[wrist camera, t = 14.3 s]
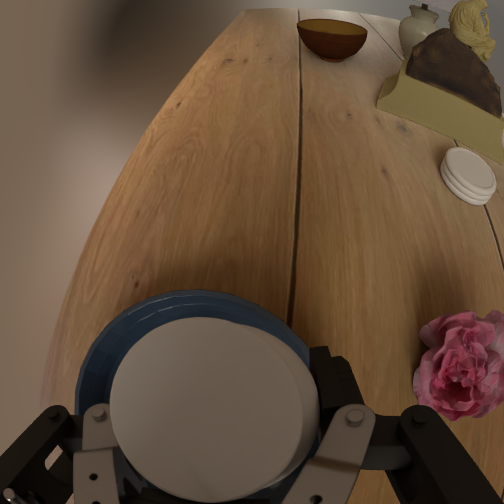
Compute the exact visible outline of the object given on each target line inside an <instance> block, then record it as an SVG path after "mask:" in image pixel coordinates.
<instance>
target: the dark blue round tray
mask: <svg viewBox="0 0 504 504" xmlns="http://www.w3.org/2000/svg"><path fill="white" fill-rule="evenodd" d="M192 317H208V318H217V319H223V320H227V321H230V322H233V323H236V324H242V325H247V326H251V327H254V328H258V329H261V330H263V331H265V332H267V333H269V334H271V335H273V336H275V337H277V338H278V339H280V340H281V341H283V342H284V343H285V344H287V345H288V346H289V347H290V348H291V349H292V350H293V351H294V352H295V353H296V354H297V355H298V356H299V358H300V359H301V360H302V361H303V363H304V364H305V365H306V367H307V368H308V370H309V349H308V347H307V346H306V344H305V342H304V341H303V340H302V339H301V338H300V337H299V336H298V335H297V334H296V333H295V332H294V331H293V330H292V329H291V328H290V327H289V326H288V325H287V324H286V323H285V322H284V321H283V320H281V319H280V318H278V317H277V316H275V315H273V314H272V313H270V312H269V311H267V310H266V309H264V308H262V307H261V306H259V305H258V304H256V303H253V302H251V301H248V300H245V299H242V298H240V297H237V296H234V295H232V294H228V293H223V292H216V291H209V290H203V289H195V290H179V291H171V292H167V293H164V294H160V295H157V296H153V297H149V298H147V299H145V300H143V301H141V302H139V303H137V304H135V305H133V306H132V307H130V308H128V309H126V310H124V311H123V312H122V313H121V314H120V315H118V316H117V317H116V318H115V319H114V320H112V321H111V322H110V323H109V324H108V325H107V326H106V327H105V328H104V329H103V331H102V332H101V333H100V334H99V336H98V337H97V338H96V340H95V341H94V342H93V344H92V345H91V347H90V349H89V351H88V353H87V355H86V357H85V359H84V361H83V364H82V366H81V369H80V373H79V377H78V381H77V385H76V390H75V415H84V414H85V412H86V411H87V410H88V409H89V408H90V407H92V406H94V405H96V404H101V403H105V402H106V401H107V399H108V398H109V396H110V394H111V388H112V384H113V380H114V377H115V374H116V372H117V369H118V367H119V366H120V364H121V362H122V360H123V359H124V357H125V356H126V354H127V353H128V351H129V350H130V349H131V348H132V346H133V345H134V344H135V343H137V342H138V341H139V340H140V339H141V338H142V337H144V336H145V335H146V334H147V333H149V332H150V331H152V330H153V329H155V328H157V327H159V326H162V325H164V324H166V323H169V322H172V321H175V320H179V319H184V318H192ZM319 446H320V445H319V438H318V432H317V435H316V438H315V441H314V443H313V445H312V448H311V449H310V451H309V453H308V454H307V456H306V457H305V459H304V460H303V461H302V462H301V463H300V465H299V466H298V467H297V468H296V469H295V470H294V471H292V472H291V473H290V474H289V475H288V476H286V477H285V478H283V479H282V480H280V481H278V482H276V483H275V484H273V485H271V486H268V487H266V488H263V489H261V490H259V491H257V492H255V493H253V494H251V495H248V496H246V497H244V498H240V499H270V502H271V504H281V503H282V502H283V500H284V498H285V497H286V495H287V494H288V492H289V491H290V489H291V487H292V486H293V484H294V482H295V481H296V479H297V477H298V476H299V474H300V472H301V470H302V469H303V467H304V465H305V464H306V462H307V461H308V459H310V458H313V457H314V456H315V454H316V452H317V450H318V448H319ZM146 483H147V486H148V488H151V489H156V490H161V489H160V488H158V487H156V486H155V485H153V484H152V483H150V482H149V481H148V480H147V479H146ZM161 491H163V490H161ZM196 502H197V501H196ZM199 503H206V502H199Z"/></svg>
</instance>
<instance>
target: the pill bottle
mask: <svg viewBox="0 0 504 504" xmlns="http://www.w3.org/2000/svg"><path fill="white" fill-rule="evenodd" d="M110 417H111V421H112V427H113V431H114V434H115V436H116V439H117V441H118V444H119V446H120V448H121V449H122V451H123V453H124V455H125V456H126V458H127V459H128V461H129V462H130V463H131V464H132V466H133V467H134V468H135V469H136V470H137V471H138V472H139V473H140V474H141V475H142V476H143V477H144V478H145V479H147V480H148V481H149V482H150V483H152V484H153V485H155V486H156V487H158V488H160V489H161V490H163V491H165V492H167V493H169V494H172V495H174V496H177V497H180V498H183V499H187V500H192V501H197V502H206V503H217V502H228V501H232V500H236V499H240V498H244V497H246V496H248V495H251V494H253V493H255V492H257V491H259V490H261V489H263V488H266V487H268V486H271V485H273V484H275V483H276V482H278V481H280V480H282V479H283V478H285V477H286V476H288V475H289V474H290V473H291V472H292V471H294V470H295V469H296V468H297V467H298V466H299V465H300V463H301V462H302V461H303V460H304V459H305V457H306V456H307V454H308V453H309V451H310V449H311V448H312V445H313V443H314V441H315V438H316V435H317V432H318V427H319V422H320V402H319V395H318V391H317V388H316V385H315V382H314V380H313V377H312V375H311V374H310V372H309V370H308V368H307V367H306V365H305V364H304V363H303V361H302V360H301V359H300V358H299V356H298V355H297V354H296V353H295V352H294V351H293V350H292V349H291V348H290V347H289V346H288V345H287V344H285V343H284V342H283V341H281V340H280V339H278V338H277V337H275V336H273V335H271V334H269V333H267V332H265V331H263V330H261V329H258V328H254V327H251V326H247V325H242V324H236V323H233V322H230V321H227V320H223V319H217V318H208V317H192V318H184V319H179V320H175V321H172V322H169V323H166V324H164V325H162V326H159V327H157V328H155V329H153V330H152V331H150V332H149V333H147V334H146V335H145V336H144V337H142V338H141V339H140V340H139V341H138V342H137V343H135V344H134V345H133V346H132V348H131V349H130V350H129V351H128V353H127V354H126V356H125V357H124V359H123V360H122V362H121V364H120V366H119V367H118V369H117V372H116V374H115V377H114V380H113V384H112V388H111V394H110Z"/></svg>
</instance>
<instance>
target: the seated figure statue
mask: <svg viewBox="0 0 504 504" xmlns="http://www.w3.org/2000/svg"><path fill="white" fill-rule="evenodd" d="M487 7H488V6H487V3H486V1H485V0H470V1H460V2H458V3H457V4H456V5H455V6H454V7H453V9H452V11H451V13H450V16H449V20H448V21H449V22H450V29H448V28H442V29H439V30H437V31H435V32H433V33H431V34H429V35H428V36H427V37H426V38H425V39H424V40H423V41H421V42H419V43H418V44H417V45H415V46H413V47H412V52H411V55H410V58H409V60H408V61H406V60H403V62H402V66H401V69H400V71H399V72H398V73H397V74H396V75H394V76H392V77H389V78H386V80H385V82H384V85H383V88H382V90H381V93H380V95H379V98H378V101H377V107H376V108H377V109H380V110H383V111H386V112H389V113H392V114H394V115H397V116H400V117H403V118H405V119H408V120H411V121H413V122H416V123H418V124H421V125H423V126H426V127H428V128H430V129H433V130H435V131H437V132H439V133H442V134H444V135H446V136H448V137H450V138H452V139H455V140H457V141H459V142H461V143H463V144H465V145H467V146H469V147H471V148H473V149H474V150H476V151H478V152H480V153H482V154H484V155H485V156H487V157H489V158H491V159H492V160H494V161H496V162H498V163H499V164H502V163H503V161H504V150H503V147H502V139H501V137H502V133H503V129H504V118H503V115H502V107H501V99H500V87H499V86H498V85H497V84H496V83H495V81H494V77H493V76H492V75H491V73H490V71H489V70H488V68H487V66H486V65H485V64H484V63H485V62H486V60H489V59H490V55H491V54H492V51H493V49H494V48H495V46H496V42H495V41H494V40H493V39H491V38H490V37H488V35H489V31H490V30H489V29H490V27H489V19H488V16H487V14H486V11H485V14H484V13H482V14H483V16H484V18H485V20H486V26H485V28H484V25H483V23H482V19H481V17H480V14H479V13H480V11H482V10H484V9H486V8H487Z"/></svg>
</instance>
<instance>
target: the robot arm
mask: <svg viewBox="0 0 504 504" xmlns="http://www.w3.org/2000/svg"><path fill="white" fill-rule="evenodd" d="M309 372H310V374H311V375H312V377H313V380H314V382H315V385H316V388H317V391H318V395H319V402H320V422H319V427H318V438H319V445H320V446H319V448H318V450H317V452H316V454H315V456H314V457H313V458H310V459H308V461H307V462H306V464H305V465H304V467H303V469H302V470H301V472H300V474H299V476H298V477H297V479H296V481H295V482H294V484H293V486H292V487H291V489H290V491H289V492H288V494H287V495H286V497H285V498H284V500H283V502H282V503H281V504H347V502H348V499H349V497H350V495H351V492H352V490H353V487H354V485H355V482H356V480H357V477H358V475H359V472H360V469H364V470H385V472H386V474H387V476H388V479H389V481H390V483H391V485H392V487H393V489H394V491H395V493H396V495H397V497H398V499H399V501H400V504H504V503H503V502H502V500H501V499H500V497H499V496H498V494H497V493H496V492H495V490H494V489H493V487H492V486H491V484H490V483H489V481H488V480H487V479H486V477H485V476H484V474H483V473H482V472H481V470H480V469H479V467H478V466H477V465H476V463H475V462H474V461H473V459H472V458H471V457H470V455H469V454H468V452H467V451H466V450H465V448H464V447H463V446H462V444H461V443H460V442H459V441H458V439H457V438H456V437H455V435H454V434H453V433H452V431H451V430H450V429H449V427H448V426H447V425H446V424H445V422H444V421H443V420H442V418H441V417H440V416H439V415H438V413H437V412H436V411H435V410H434V409H433V408H431V407H429V406H425V405H414V406H411V407H409V408H407V409H405V410H404V411H403V413H402V414H401V416H382V415H378V414H375V413H374V411H373V410H372V409H371V408H369V407H368V406H366V405H365V403H364V401H363V398H362V395H361V393H360V390H359V387H358V385H357V382H356V380H355V377H354V374H353V372H352V369H351V367H350V364H349V362H348V361H347V360H345V359H344V358H343V357H342V356H336V357H331V355H330V351H329V348H328V346H321V347H312V348H310V349H309ZM57 445H58V446H59V447H60V448H61V449H62V451H63V452H62V454H61V455H60V456H59V457H58V459H57V460H56V461H55V462H54V464H53V465H52V466H51V467H50V469H49V470H47V469H46V467H45V460H46V458H47V457H48V456H49V454H50V453H51V452H52V451H53V450H54V448H55V447H56V446H57ZM72 493H73V494H74V504H271V502H270V499H236V500H232V501H228V502H217V503H199V502H196V501H192V500H187V499H183V498H180V497H177V496H174V495H172V494H169V493H167V492H165V491H161V490H156V489H151V488H148V486H147V483H146V479H145V478H144V477H143V476H142V475H141V474H140V473H139V472H138V471H137V470H136V469H135V468H134V467H133V466H132V464H131V463H130V462H129V461H128V459H127V458H126V456H125V455H124V453H123V451H122V449H121V448H120V446H119V444H118V441H117V439H116V436H115V434H114V431H113V427H112V421H111V417H110V396H109V398H108V399H107V401H106V402H105V403H101V404H96V405H94V406H92V407H90V408H89V409H88V410H87V411H86V412H85V414H84V415H70V414H69V412H68V410H67V409H66V408H65V407H64V406H61V405H54V406H51V407H49V408H47V409H46V410H45V411H44V412H43V413H42V414H41V415H40V416H39V417H38V418H37V419H36V420H35V421H34V422H33V423H32V424H31V425H30V426H29V427H28V428H27V429H26V430H25V431H24V432H23V433H22V434H21V435H20V436H19V437H18V438H17V439H16V441H15V442H14V443H13V444H12V445H11V446H10V447H9V448H8V449H7V450H6V451H5V452H4V453H3V454H2V455H1V456H0V504H65V503H66V502H67V501H68V499H69V498H70V496H71V495H72Z"/></svg>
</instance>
